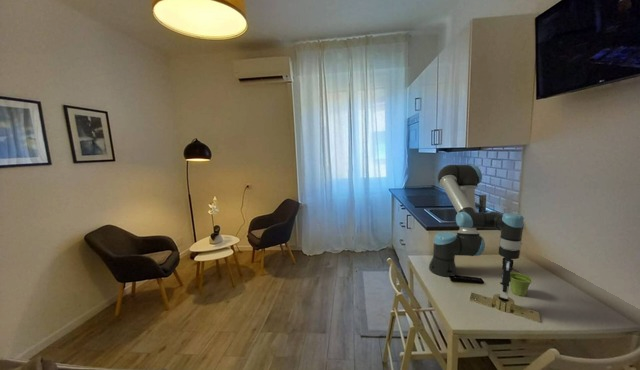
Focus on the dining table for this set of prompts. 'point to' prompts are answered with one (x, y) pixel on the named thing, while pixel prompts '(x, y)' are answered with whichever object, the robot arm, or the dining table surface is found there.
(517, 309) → the hinge
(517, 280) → the plant pot
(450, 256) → the robot arm
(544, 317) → the dining table surface
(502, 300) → the pin
